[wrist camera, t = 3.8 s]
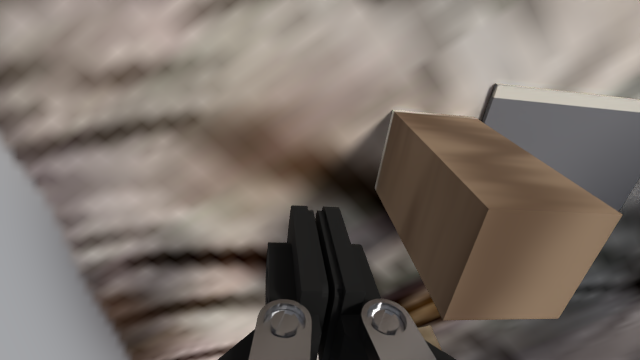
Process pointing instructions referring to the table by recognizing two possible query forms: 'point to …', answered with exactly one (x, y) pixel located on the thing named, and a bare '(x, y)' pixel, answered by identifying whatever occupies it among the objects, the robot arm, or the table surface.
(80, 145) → the table surface
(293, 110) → the table surface
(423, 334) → the oak block
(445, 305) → the walnut block
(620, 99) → the grey rectangular panel
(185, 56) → the table surface
